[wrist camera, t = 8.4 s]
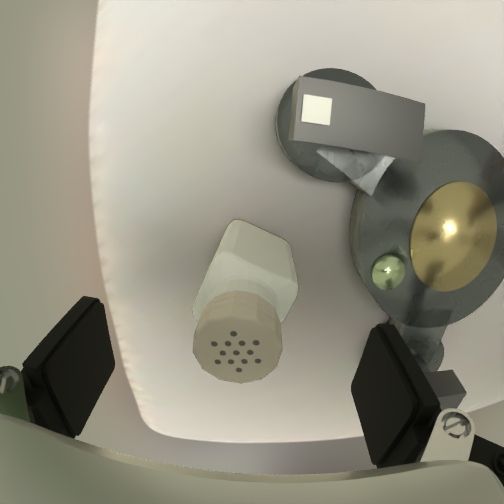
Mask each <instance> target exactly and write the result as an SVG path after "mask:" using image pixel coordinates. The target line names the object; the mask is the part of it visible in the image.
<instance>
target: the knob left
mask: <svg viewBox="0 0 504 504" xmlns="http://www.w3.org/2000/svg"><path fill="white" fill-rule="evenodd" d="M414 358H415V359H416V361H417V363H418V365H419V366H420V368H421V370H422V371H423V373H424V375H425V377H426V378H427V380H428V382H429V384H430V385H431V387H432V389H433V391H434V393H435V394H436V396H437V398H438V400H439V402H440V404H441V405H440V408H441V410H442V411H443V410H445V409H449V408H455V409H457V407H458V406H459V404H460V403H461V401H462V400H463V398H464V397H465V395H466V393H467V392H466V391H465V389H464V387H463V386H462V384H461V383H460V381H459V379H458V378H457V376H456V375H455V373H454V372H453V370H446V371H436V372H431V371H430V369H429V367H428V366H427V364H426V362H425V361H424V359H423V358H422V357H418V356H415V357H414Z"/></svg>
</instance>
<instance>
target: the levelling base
mask: <svg viewBox="0 0 504 504" xmlns="http://www.w3.org/2000/svg"><path fill="white" fill-rule="evenodd" d="M303 76H304V77H311V78H317V79H323V80H329V81H335V82H340V83H345V84H350V85H355V86H360V87H364V88H369V89H373V90H376V89H375V88H374V87H373V86H372V85H371V84H370V83H369V82H368V81H366V80H365V79H364V78H362V77H360V76H358V75H357V74H354V73H352V72H349V71H346V70H342V69H335V68H326V69H319V70H315V71H312V72H309V73H307V74H305V75H303ZM296 81H297V80H296ZM296 81H295V82H294V83H293V84H292V85H291V86H290V87H289V88H288V89H287V91H286V92H285V94H284V96H283V98H282V100H281V102H280V105H279V108H278V111H277V115H276V134H277V138H278V141H279V143H280V146H281V148H282V149H283V151H284V153H285V154H286V155H287V157H288V158H289V159H290V160H291V161H292V162H293V163H294V164H295V165H297V166H298V167H299V168H300V169H301V170H303V171H304V172H306V173H307V174H309V175H311V176H313V177H315V178H318V179H321V180H324V181H329V182H347V181H350V182H351V183H352V184H353V185H354V186H356V187H357V188H358V191H357V194H356V197H355V199H354V204H353V208H352V212H351V221H350V243H351V251H352V255H353V259H354V262H355V265H356V268H357V270H358V272H359V275H360V276H361V278H362V280H363V281H364V283H365V285H366V286H367V288H368V289H369V291H370V293H371V294H372V296H373V298H374V299H375V301H376V302H377V303H378V305H379V306H380V307H381V308H382V310H383V311H385V312H386V313H387V314H388V315H389V316H390V320H389V322H388V323H386V324H394V325H395V327H396V328H397V330H398V332H399V333H400V335H401V336H402V338H403V340H404V341H405V343H406V345H407V346H408V348H409V349H410V351H411V353H412V354H413V356H414V357H415V356H418V357H422V358H423V359H424V361H425V362H426V364H427V366H428V367H429V369H430V371H431V372H436V371H437V370H438V368H439V367H440V365H441V363H442V360H443V356H444V347H443V344H442V342H441V339H442V336H443V334H444V332H445V329H446V327H447V325H449V324H452V323H454V322H457V321H459V320H461V319H463V318H465V317H466V316H468V315H469V314H471V313H472V312H474V311H475V310H476V309H478V308H479V307H480V306H481V305H482V304H483V303H484V302H485V301H486V300H487V299H488V298H489V297H490V296H491V295H492V294H493V293H494V291H495V290H496V289H497V287H498V286H499V284H500V283H501V281H502V280H503V278H504V158H503V157H502V155H501V154H500V153H499V152H498V151H497V150H496V149H495V148H494V147H493V146H492V145H491V144H490V143H488V142H487V141H486V140H484V139H483V138H481V137H479V136H477V135H475V134H472V133H469V132H466V131H460V130H438V129H431V130H423V138H422V147H421V155H420V163H418V162H413V161H408V160H403V159H398V158H393V157H388V156H383V155H378V154H373V153H368V152H363V151H357V150H352V149H346V148H338V147H332V146H327V145H320V144H313V143H306V142H298V141H289V140H288V137H289V127H290V117H291V106H292V95H293V87H294V85H295V83H296Z"/></svg>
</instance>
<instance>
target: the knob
mask: <svg viewBox="0 0 504 504" xmlns="http://www.w3.org/2000/svg"><path fill="white" fill-rule="evenodd" d="M424 116H425V104H424V103H420V102H417V101H414V100H411V99H407V98H404V97H400V96H397V95H393V94H389V93H385V92H381V91H377V90H373V89H369V88H364V87H360V86H355V85H350V84H345V83H340V82H335V81H329V80H323V79H317V78H311V77H304V76H299V77H298V79H297V81H296V83H295V85H294V87H293V95H292V106H291V117H290V127H289V137H288V140H289V141H298V142H306V143H313V144H320V145H327V146H332V147H338V148H346V149H352V150H357V151H363V152H368V153H373V154H378V155H383V156H388V157H393V158H398V159H403V160H408V161H413V162H418V163H420V155H421V147H422V138H423V128H424Z"/></svg>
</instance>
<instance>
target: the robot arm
mask: <svg viewBox="0 0 504 504" xmlns="http://www.w3.org/2000/svg"><path fill="white" fill-rule="evenodd" d="M22 365H23V367H24V368H23V369H22V371H20V370H19V369H17V368H15V367H13V366H3V367H0V504H504V447H501V446H499V445H497V444H495V443H493V442H490V441H488V440H486V439H484V438H481V437H479V436H477V435H475V424H474V421H473V420H472V418H471V417H470V416H469V415H468V414H467V413H465V412H464V411H462V410H459V409H455V408H449V409H445V410H443V411H442V410H441V408H440V405H441V404H440V402H439V400H438V398H437V396H436V394H435V393H434V391H433V389H432V387H431V385H430V384H429V382H428V380H427V378H426V377H425V375H424V373H423V371H422V370H421V368H420V366H419V365H418V363H417V361H416V359H415V358H414V356H413V354H412V353H411V351H410V349H409V348H408V346H407V345H406V343H405V341H404V340H403V338H402V336H401V335H400V333H399V332H398V330H397V328H396V327H395V325H394V324H378V325H377V326H376V328H372V330H371V332H370V335H369V338H368V340H367V343H366V346H365V349H364V352H363V355H362V357H361V360H360V363H359V366H358V368H357V371H356V373H355V376H354V379H353V381H352V384H351V392H352V396H353V399H354V402H355V406H356V409H357V412H358V416H359V419H360V423H361V426H362V430H363V433H364V437H365V440H366V443H367V447H368V451H369V455H370V458H371V461H372V463H373V464H374V465H376V466H377V469H371V470H363V471H353V472H343V473H331V474H313V475H260V474H242V473H228V472H219V471H210V470H202V469H195V468H188V467H182V466H175V465H170V464H165V463H160V462H155V461H150V460H146V459H141V458H137V457H133V456H129V455H125V454H121V453H117V452H114V451H110V450H107V449H103V448H100V447H97V446H94V445H91V444H88V443H85V442H82V441H79V440H76V439H74V438H75V436H76V435H77V436H79V435H80V434H81V432H82V430H83V428H84V426H85V424H86V422H87V420H88V418H89V416H90V414H91V412H92V410H93V408H94V406H95V404H96V402H97V400H98V399H99V396H100V394H101V393H102V391H103V389H104V387H105V385H106V383H107V381H108V380H109V378H110V376H111V374H112V372H113V370H114V367H115V360H114V355H113V350H112V346H111V341H110V336H109V331H108V325H107V320H106V314H105V309H104V305H103V304H102V303H100V300H99V299H98V298H93V297H87V296H83V297H82V298H81V299H80V300H79V301H78V302H77V303H76V304H75V305H74V306H73V307H72V308H71V309H70V310H69V311H68V313H67V314H66V315H65V316H64V317H63V318H62V319H61V320H60V321H59V323H57V325H55V327H54V328H53V329H52V330H51V331H50V332H49V333H48V334H47V336H46V337H45V338H44V339H43V340H42V341H41V342H40V344H39V345H38V346H37V347H36V348H35V349H34V351H33V352H32V353H31V354H30V355H29V356H28V358H27V359H26V360H25V361H24V363H23V364H22Z"/></svg>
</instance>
